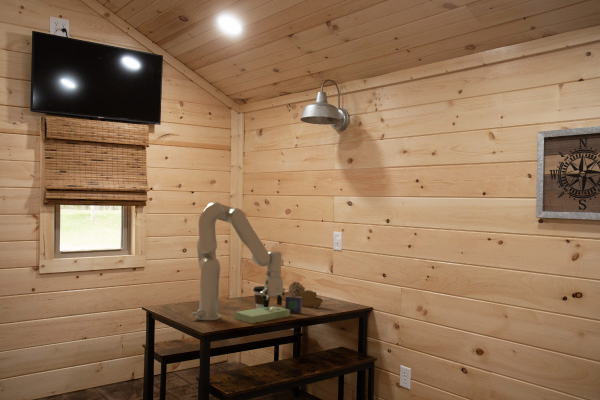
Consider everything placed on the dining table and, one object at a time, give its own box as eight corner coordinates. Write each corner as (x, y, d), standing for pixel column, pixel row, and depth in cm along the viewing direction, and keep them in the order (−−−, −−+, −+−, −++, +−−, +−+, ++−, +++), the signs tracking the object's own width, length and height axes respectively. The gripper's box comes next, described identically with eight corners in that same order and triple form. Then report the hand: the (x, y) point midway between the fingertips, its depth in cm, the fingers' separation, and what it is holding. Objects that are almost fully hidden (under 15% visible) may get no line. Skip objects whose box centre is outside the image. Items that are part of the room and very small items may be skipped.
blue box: (301, 312, 280) (302, 293, 280) (300, 314, 277) (301, 294, 277) (285, 311, 282) (286, 292, 282) (284, 312, 279) (284, 293, 279)
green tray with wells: (251, 323, 252) (251, 316, 252) (235, 318, 261) (235, 312, 261) (289, 315, 271) (290, 309, 271) (273, 311, 280) (273, 305, 281)
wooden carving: (323, 307, 296) (323, 290, 296) (321, 309, 292) (322, 291, 292) (296, 305, 300) (296, 288, 300) (294, 306, 296) (294, 289, 296)
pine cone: (283, 295, 328) (284, 280, 329) (296, 294, 334) (296, 279, 334) (303, 302, 310) (303, 285, 310) (315, 300, 316) (316, 284, 316)
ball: (272, 316, 268) (273, 307, 268) (266, 314, 271) (267, 306, 272) (278, 315, 271) (279, 307, 272) (272, 314, 274) (273, 305, 275)
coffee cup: (268, 311, 281) (269, 290, 281) (250, 310, 283) (250, 288, 283) (273, 307, 291) (274, 286, 291) (255, 306, 294) (256, 285, 294)
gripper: (266, 276, 262) (265, 309, 262) (290, 273, 275) (289, 305, 275) (257, 274, 268) (255, 306, 268) (280, 272, 280) (279, 302, 280)
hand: (272, 306), depth 271 cm, fingers open, 9 cm apart
